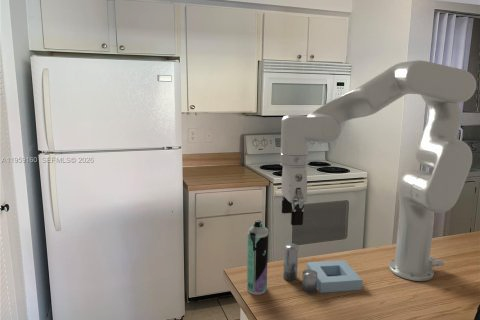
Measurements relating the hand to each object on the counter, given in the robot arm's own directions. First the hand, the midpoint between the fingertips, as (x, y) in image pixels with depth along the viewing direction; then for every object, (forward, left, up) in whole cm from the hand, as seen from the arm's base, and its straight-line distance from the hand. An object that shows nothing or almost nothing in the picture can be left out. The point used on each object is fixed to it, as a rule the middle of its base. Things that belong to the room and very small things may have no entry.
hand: (291, 218), depth 105 cm
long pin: (0, 0, -18) cm, 18 cm away
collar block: (-12, +3, -18) cm, 22 cm away
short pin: (-4, +7, -18) cm, 20 cm away
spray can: (+11, +5, -19) cm, 22 cm away
